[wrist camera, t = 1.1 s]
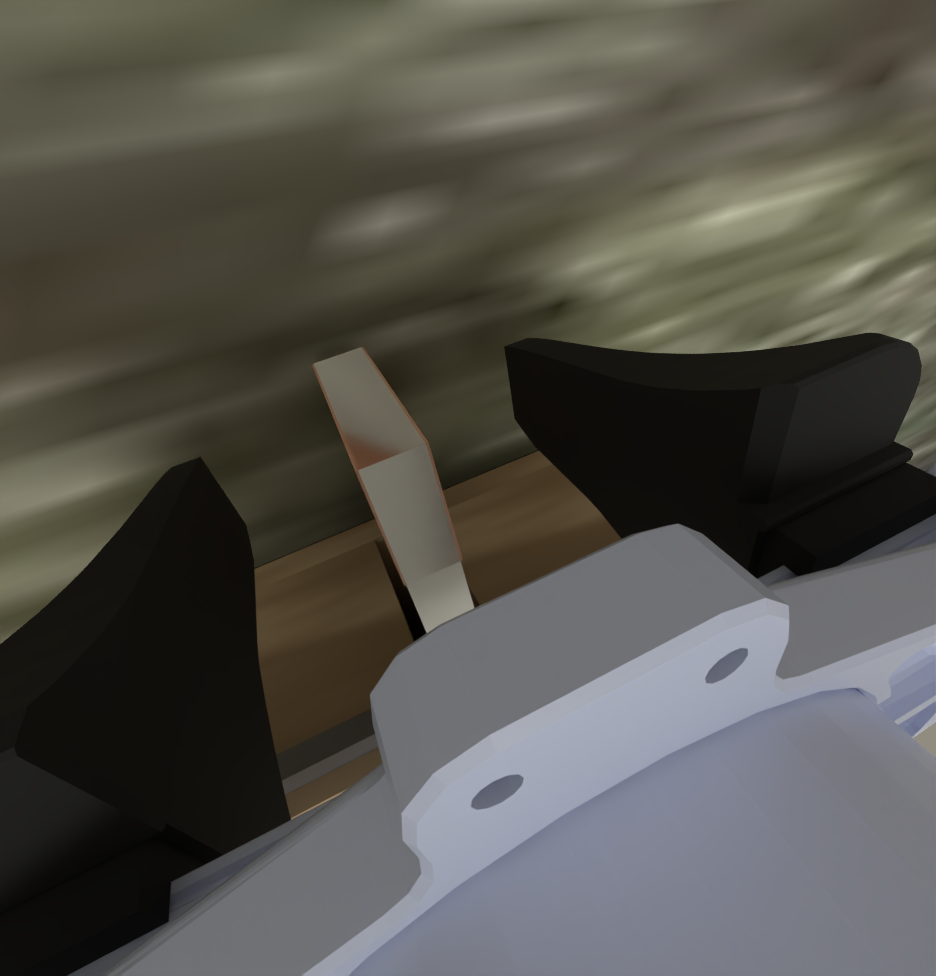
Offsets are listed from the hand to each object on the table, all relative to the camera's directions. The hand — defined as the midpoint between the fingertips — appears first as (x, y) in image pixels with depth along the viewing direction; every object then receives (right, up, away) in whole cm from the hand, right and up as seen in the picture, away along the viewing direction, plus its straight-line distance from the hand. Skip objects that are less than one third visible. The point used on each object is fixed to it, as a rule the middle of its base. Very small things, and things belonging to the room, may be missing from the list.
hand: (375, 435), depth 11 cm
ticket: (+1, -5, +7) cm, 8 cm away
